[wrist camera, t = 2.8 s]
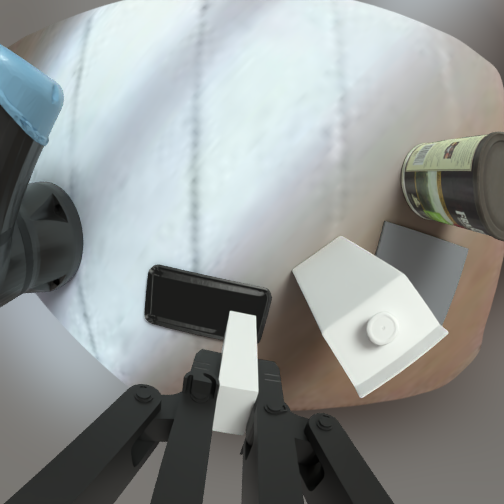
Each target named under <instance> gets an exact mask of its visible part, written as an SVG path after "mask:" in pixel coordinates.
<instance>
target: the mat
mask: <svg viewBox="0 0 504 504" xmlns="http://www.w3.org/2000/svg"><path fill="white" fill-rule="evenodd" d="M467 253H468V249H467V248H464V247H462V246H459V245H456V244H453V243H450V242H448V241H445V240H442V239H439V238H436V237H433V236H430V235H427V234H424V233H421V232H418V231H415V230H412V229H409V228H406V227H403V226H399V225H396V224H393V223H390V222H386V221H384V225H383V228H382V232H381V236H380V240H379V243H378V247H377V251H376V254H375V256H376V257H378V258H380V259H381V260H383V261H384V262H386V263H388V264H389V265H391V266H392V267H394V268H396V269H397V270H399V271H400V272H402V273H403V274H405V275H406V277H407V278H408V279H409V281H410V282H411V283H412V285H413V286H414V288H415V289H416V290H417V292H418V293H419V295H420V296H421V297H422V299H423V300H424V302H425V303H426V305H427V306H428V307H429V309H430V310H431V312H432V313H433V315H434V316H435V318H436V319H437V321H438V322H439V324H440V325H441V326H442V324H443V322H444V319H445V317H446V315H447V312H448V309H449V307H450V304H451V302H452V299H453V296H454V294H455V291H456V288H457V285H458V282H459V279H460V276H461V273H462V270H463V267H464V263H465V260H466V256H467Z"/></svg>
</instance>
